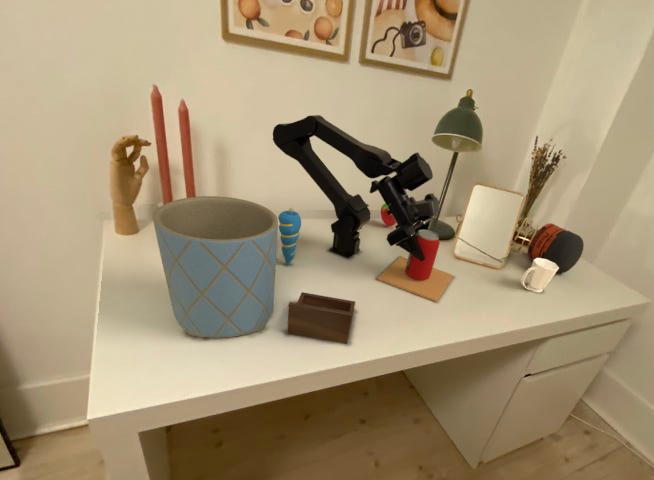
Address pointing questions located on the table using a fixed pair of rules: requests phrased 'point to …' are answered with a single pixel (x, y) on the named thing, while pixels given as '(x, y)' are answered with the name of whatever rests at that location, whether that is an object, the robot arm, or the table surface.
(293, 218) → the ornament
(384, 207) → the red strawberry
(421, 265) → the beverage can
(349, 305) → the open wooden box
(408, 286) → the placemat
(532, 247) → the oil filter
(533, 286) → the cup
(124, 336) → the table surface
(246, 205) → the planter
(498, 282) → the table surface
